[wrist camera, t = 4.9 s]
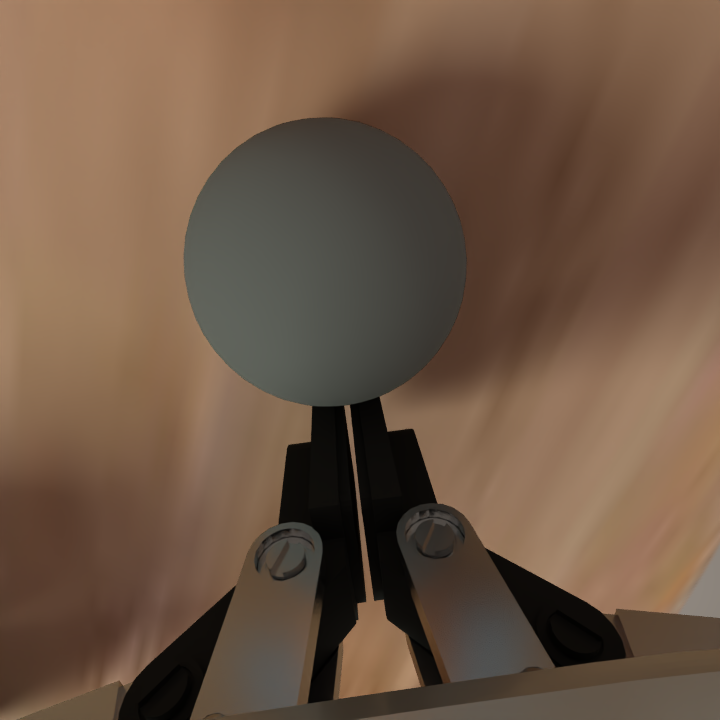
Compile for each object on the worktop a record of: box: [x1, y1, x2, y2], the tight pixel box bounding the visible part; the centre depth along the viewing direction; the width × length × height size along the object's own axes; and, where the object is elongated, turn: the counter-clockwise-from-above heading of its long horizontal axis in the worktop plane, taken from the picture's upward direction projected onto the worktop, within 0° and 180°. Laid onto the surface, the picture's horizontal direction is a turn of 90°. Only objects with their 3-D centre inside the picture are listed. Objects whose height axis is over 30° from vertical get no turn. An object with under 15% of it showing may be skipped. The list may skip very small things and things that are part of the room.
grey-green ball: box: [184, 118, 467, 406], centre depth 9 cm, size 6×6×6 cm
